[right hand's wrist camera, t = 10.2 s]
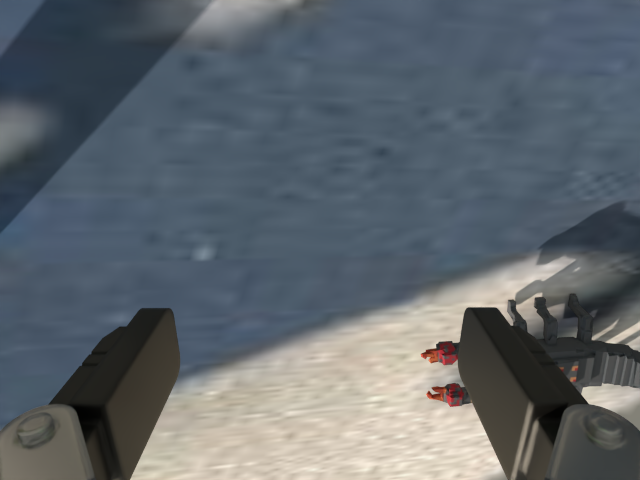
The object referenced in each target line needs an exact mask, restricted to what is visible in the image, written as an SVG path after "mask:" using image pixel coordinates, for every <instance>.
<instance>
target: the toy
mask: <svg viewBox="0 0 640 480" xmlns="http://www.w3.org/2000/svg"><path fill="white" fill-rule="evenodd" d="M545 302H546V299H545V298H544V297H537V298H535V303H534V307H535V308H536V309H538V310H537V313H538V314H539V315H540V316H541V317H542V318H543V320H544V333H543V335H544V339H536V340H537V341H538V342H539V343H540V345H541V346H542V347H543V348H544V349H545V351H546V354H549V356H550V357H551V358H552V359H553V361H554V362H555V365H558V367H559V368H560V369H561V370H562V372H563V373H564V374H565V375H566V377H567V378H568V379H569V380H570V382H571V383H572V384H573V385H574V386H575V388H576V389H577V390H578V391H579V393H580V394H581V392H582V389H583V387H588V386H601V385H602V383H604V384H606V383H608V384H614V385H621V386H630V387H633V388H640V352H638V351H636V350H633V349H631V348H630V347H629V346H628V345H623V344H611V343H605V342H602V341H593V340H591V339H592V326H593V317H592V316H591V315H590V314H589V313H587V312H586V311H585V310H584V309H583V308H582V307H581V306H580V305H579V303H578V299H577V296H576V294H570V299H569V307H570V308H571V309H572V310H573V312H574V313H575V314H576V316H577V317H578V332H577V338H574V337H560V338H557V320H556V319H555V318H554V317H553V316H552V315H550V313H549V312H548V310H547V308H546V305H545ZM507 312H508V313H509V315H510V316H511V318H512V319H513V321H514V322H513V326H519V327H520V328H522V329H523V330H524V331H526V332H527V323H526V321H525V320H524V319H523V318H522V317H521V315H520V314H519V313H518V312H517V311H516V302H515V301H514V300H508V310H507ZM459 344H460V342H459V343H452V341H446V342H439V343H438V344H436V349H428V350H426V352H424V353H422V354H421V357H423V358H425V359H426V358H427V357H431V358H430V359H429V361H430V363H434V362H438V361H439V362H441V363H443V365H452V364H453V363H454V362H455V361H456V360H458V351H459ZM432 389H433V390H434V391H435V392H439V394H434V395H432V394H431V393H430V391H428V393H427V394H426V395H427V397H428V398H429V399H435V400H440V401H443V402H446V403H448V404H449V406H450V407H453V406H462V404H469V403H472V401H471V399H470V397H469V394H468V392H467V390H466V388H465V387H460V385H459V384H456V383H452V384H447V385H446V386H445V387H432Z"/></svg>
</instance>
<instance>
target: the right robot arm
mask: <svg viewBox="0 0 640 480" xmlns="http://www.w3.org/2000/svg"><path fill="white" fill-rule="evenodd" d="M458 368H459V373H460V377H461V379H462V381H463V384H464V386H465V388H466V390H467V392H468V394H469V397H470V399H471V401H472V403H473V405H474V407H475V410H476V412H477V414H478V416H479V418H480V420H481V423H482V425H483V427H484V429H485V431H486V433H487V436H488V438H489V440H490V442H491V444H492V446H493V449H494V451H495V453H496V455H497V457H498V459H499V462H500V464H501V466H502V468H503V470H504V472H505V475H506V477H507V479H508V480H640V431H639V430H638V429H637V428H636V427H635V426H634V425H633V424H632V423H630V422H629V421H628V420H626V419H625V418H623V417H622V416H620V415H618V414H617V413H615V412H612V411H610V410H608V409H605V408H602V407H599V406H595V405H589V404H588V402H587V401H586V400H585V399H584V398H583V396H582V395H581V394H580V393H579V391H578V390H577V389H576V388H575V386H574V385H573V384H572V383H571V382H570V380H569V379H568V378H567V377H566V375H565V374H564V373H563V372H562V370H561V369H560V368H559V367H558V365H555V362H554V361H553V359H552V358H551V357H550V356H549V354H546V351H545V349H544V348H543V347H542V346H541V345H540V343H539V342H538V341H537V340H536V338H535V337H533V336H532V335H530V334H529V333H527V332H526V331H524V330H523V329H522V328H520V327H519V326H511V325H510V324H509V323H508V322H507V320H506V319H505V318H504V316H503V315H502V314H501V312H500V311H499V310H498V309H497V308H467V309H466V310H465V313H464V318H463V324H462V331H461V338H460V344H459V351H458ZM179 369H180V352H179V346H178V339H177V333H176V326H175V320H174V314H173V312H172V310H171V309H170V308H142V309H140V310H139V311H138V312H137V314H136V315H135V316H134V318H133V319H132V320H131V322H130V323H129V324H128V325H127V327H119V328H117V329H116V330H114V331H113V332H111V333H110V334H108V335H107V336H105V337H104V338H102V340H101V341H100V342H99V343H98V345H97V346H96V347H95V348H94V349H93V351H92V354H91V355H89V356H88V357H87V358H86V359H85V360H84V362H83V363H82V366H80V367H79V368H78V369H77V370H76V371H75V373H74V374H73V375H72V376H71V378H70V379H69V380H68V381H67V382H66V384H65V385H64V386H63V387H62V389H61V390H60V391H59V392H58V393H57V395H56V396H55V397H54V398H53V400H52V401H51V402H50V403H49V404H48V405H45V406H41V407H38V408H35V409H32V410H30V411H28V412H25V413H23V414H22V415H20V416H18V417H17V418H15V419H13V420H12V421H11V422H9V423H8V424H7V425H6V426H5V427H4V428H3V429H2V430H1V431H0V480H130V478H131V476H132V474H133V472H134V470H135V468H136V465H137V463H138V461H139V459H140V457H141V455H142V453H143V450H144V448H145V446H146V444H147V442H148V440H149V438H150V435H151V433H152V431H153V429H154V427H155V425H156V423H157V420H158V418H159V416H160V414H161V412H162V410H163V408H164V405H165V403H166V401H167V399H168V397H169V395H170V393H171V391H172V388H173V386H174V384H175V382H176V380H177V377H178V374H179Z"/></svg>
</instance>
